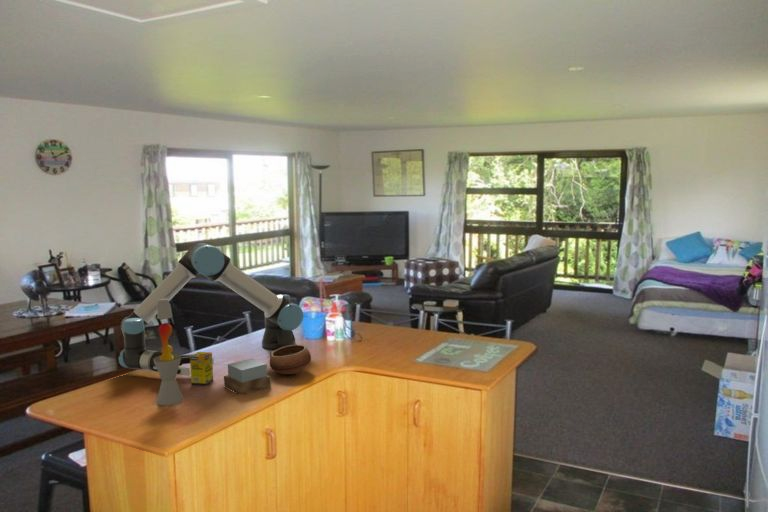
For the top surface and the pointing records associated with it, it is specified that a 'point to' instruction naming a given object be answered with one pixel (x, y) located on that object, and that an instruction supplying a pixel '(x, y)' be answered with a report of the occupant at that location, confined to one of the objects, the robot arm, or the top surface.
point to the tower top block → (247, 370)
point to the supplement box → (201, 368)
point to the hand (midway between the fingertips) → (201, 366)
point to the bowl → (290, 359)
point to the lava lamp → (167, 360)
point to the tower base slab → (246, 384)
